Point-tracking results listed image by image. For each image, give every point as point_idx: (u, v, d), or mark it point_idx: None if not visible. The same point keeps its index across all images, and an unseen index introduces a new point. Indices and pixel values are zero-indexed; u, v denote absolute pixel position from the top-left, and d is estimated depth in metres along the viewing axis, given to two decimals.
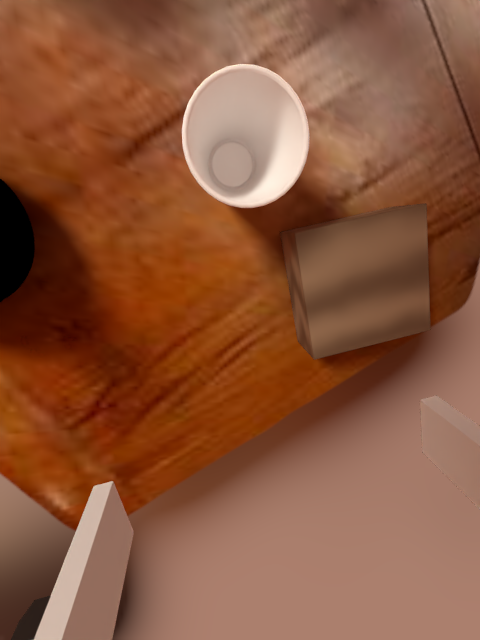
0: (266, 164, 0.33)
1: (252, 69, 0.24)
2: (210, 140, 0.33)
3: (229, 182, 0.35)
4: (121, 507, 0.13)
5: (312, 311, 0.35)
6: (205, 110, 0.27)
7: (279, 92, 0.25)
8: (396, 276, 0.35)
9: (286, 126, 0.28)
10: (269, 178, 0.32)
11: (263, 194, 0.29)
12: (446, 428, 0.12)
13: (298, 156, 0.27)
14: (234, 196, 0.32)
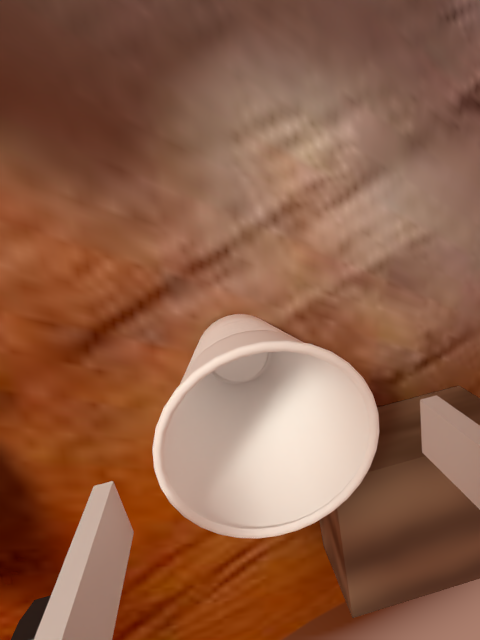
0: (290, 369, 0.22)
1: (284, 350, 0.13)
2: None
3: (234, 377, 0.24)
4: (121, 507, 0.13)
5: (353, 567, 0.24)
6: None
7: None
8: (475, 514, 0.24)
9: (332, 376, 0.17)
10: (296, 407, 0.21)
11: (290, 461, 0.18)
12: (446, 428, 0.12)
13: (354, 439, 0.16)
14: (242, 428, 0.21)
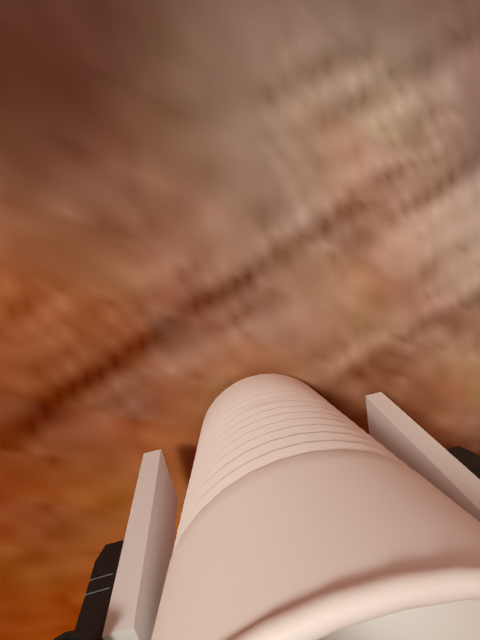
0: None
1: (455, 600, 0.04)
2: None
3: None
4: (168, 473, 0.14)
5: None
6: None
7: None
8: None
9: None
10: None
11: None
12: (384, 422, 0.13)
13: None
14: None
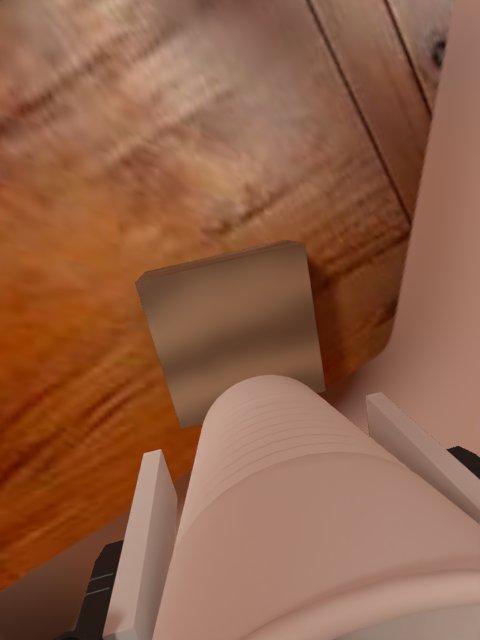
0: None
1: (457, 606, 0.04)
2: None
3: None
4: (168, 473, 0.14)
5: (171, 374, 0.28)
6: None
7: None
8: (276, 330, 0.28)
9: None
10: None
11: None
12: (384, 421, 0.13)
13: None
14: None
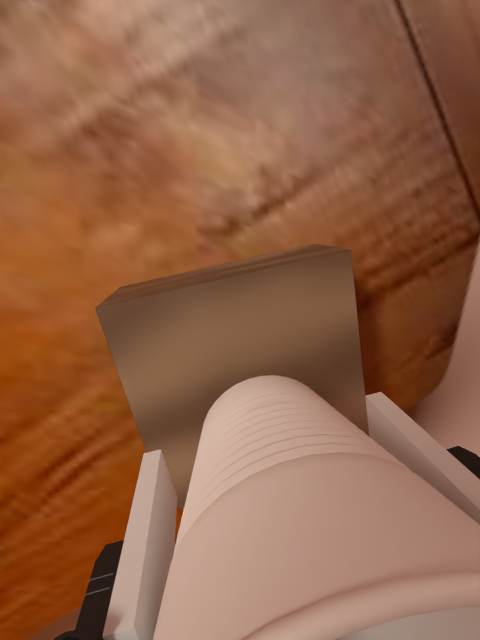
0: None
1: (457, 607, 0.04)
2: None
3: None
4: (168, 473, 0.14)
5: (152, 438, 0.19)
6: None
7: None
8: (304, 374, 0.20)
9: None
10: None
11: None
12: (384, 421, 0.13)
13: None
14: None
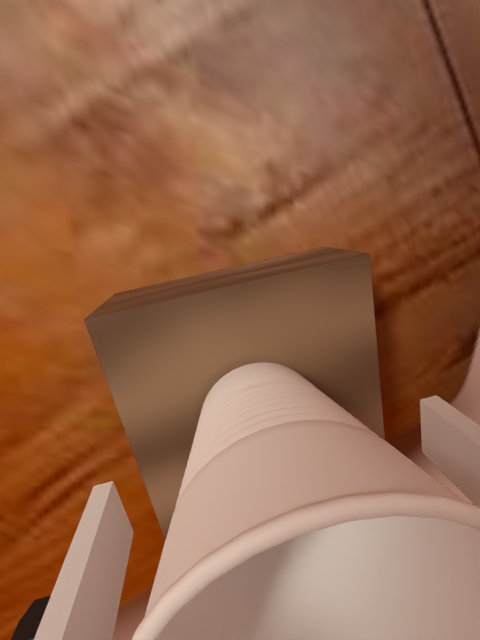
0: None
1: (391, 516, 0.06)
2: None
3: None
4: (121, 507, 0.13)
5: (148, 462, 0.18)
6: None
7: (451, 496, 0.08)
8: None
9: None
10: None
11: (350, 614, 0.12)
12: (446, 428, 0.12)
13: (477, 615, 0.09)
14: None
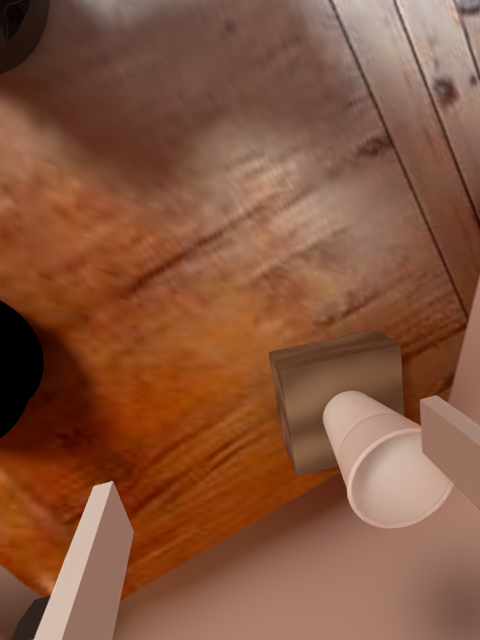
0: None
1: (416, 432, 0.26)
2: None
3: None
4: (121, 507, 0.13)
5: (295, 435, 0.38)
6: None
7: None
8: None
9: None
10: (393, 452, 0.34)
11: (396, 486, 0.32)
12: (446, 428, 0.12)
13: (440, 475, 0.29)
14: (359, 464, 0.34)
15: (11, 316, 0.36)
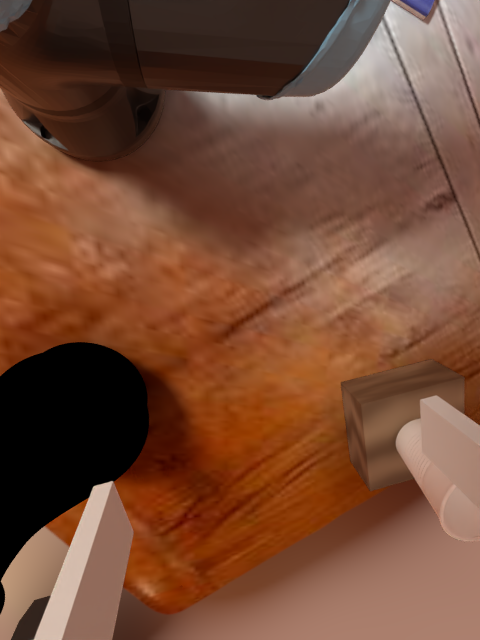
0: None
1: None
2: None
3: None
4: (121, 507, 0.13)
5: (371, 457, 0.43)
6: None
7: None
8: None
9: None
10: None
11: (469, 503, 0.37)
12: (446, 428, 0.12)
13: None
14: None
15: (123, 363, 0.41)
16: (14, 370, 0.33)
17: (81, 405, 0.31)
